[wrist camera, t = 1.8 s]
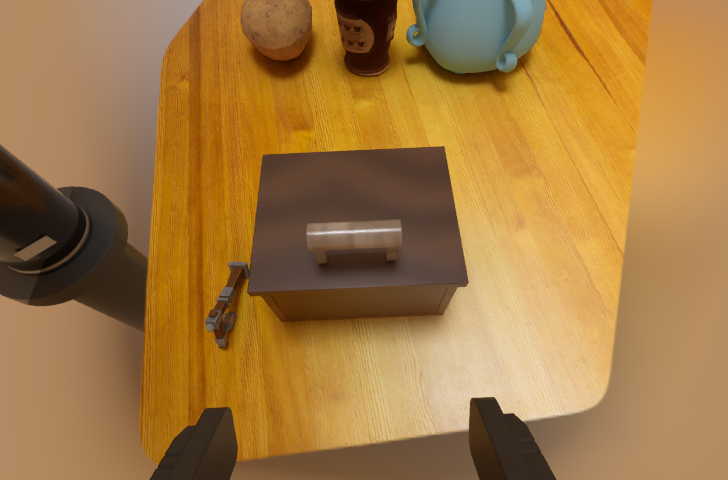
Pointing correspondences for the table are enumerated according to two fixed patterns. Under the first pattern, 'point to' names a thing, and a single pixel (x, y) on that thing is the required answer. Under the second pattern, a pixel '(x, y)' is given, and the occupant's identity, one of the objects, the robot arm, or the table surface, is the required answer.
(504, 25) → the decorative pot
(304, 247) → the lid
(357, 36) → the coffee cup
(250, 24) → the potato
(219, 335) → the wooden post with brackets
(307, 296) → the wooden storage box
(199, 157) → the table surface
